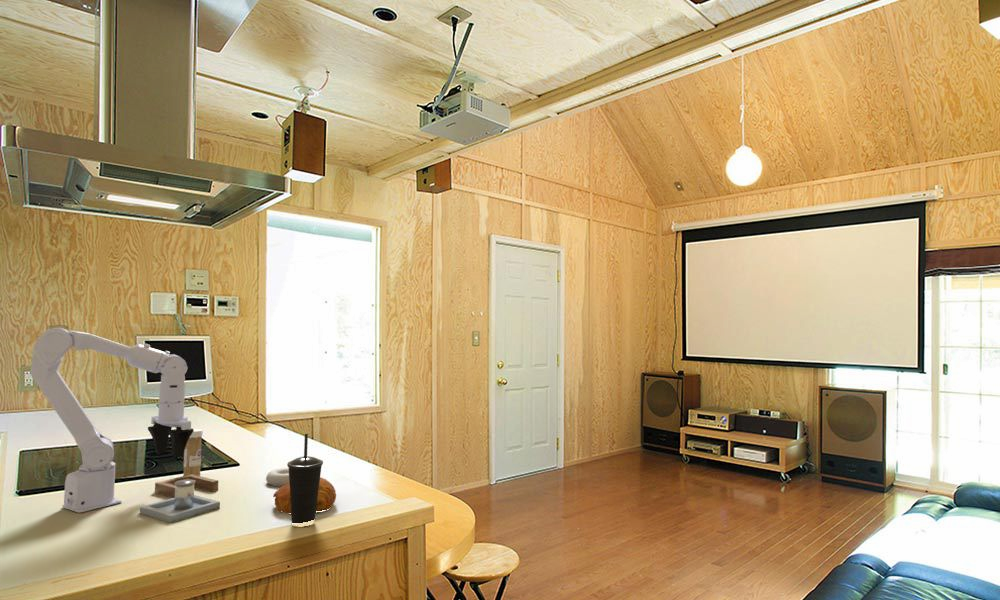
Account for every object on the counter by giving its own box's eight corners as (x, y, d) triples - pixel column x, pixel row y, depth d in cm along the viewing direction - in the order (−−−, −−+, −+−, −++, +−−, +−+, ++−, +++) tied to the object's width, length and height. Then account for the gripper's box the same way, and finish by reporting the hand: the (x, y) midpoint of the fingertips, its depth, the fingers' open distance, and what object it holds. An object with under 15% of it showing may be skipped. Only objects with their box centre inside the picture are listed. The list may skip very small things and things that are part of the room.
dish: (170, 522, 127) (171, 516, 127) (139, 513, 133) (140, 506, 133) (219, 508, 138) (220, 501, 138) (189, 499, 144) (189, 493, 144)
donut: (274, 490, 154) (309, 483, 161) (274, 477, 154) (310, 471, 161) (260, 482, 161) (294, 476, 168) (260, 470, 162) (295, 464, 168)
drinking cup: (300, 532, 123) (303, 438, 124) (277, 525, 127) (280, 434, 128) (328, 522, 130) (331, 433, 131) (305, 515, 134) (308, 429, 135)
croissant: (330, 503, 150) (331, 471, 152) (339, 513, 136) (340, 478, 138) (270, 508, 144) (272, 475, 146) (274, 519, 131) (276, 482, 132)
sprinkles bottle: (197, 479, 162) (199, 431, 163) (179, 479, 162) (181, 431, 162) (203, 474, 167) (205, 428, 167) (186, 475, 166) (188, 428, 167)
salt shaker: (180, 511, 133) (182, 485, 134) (168, 508, 135) (170, 482, 136) (198, 506, 137) (199, 481, 138) (186, 503, 139) (188, 478, 140)
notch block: (181, 499, 144) (182, 489, 144) (154, 492, 149) (155, 482, 149) (218, 490, 152) (218, 480, 152) (191, 483, 158) (191, 474, 158)
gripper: (203, 402, 148) (201, 455, 147) (171, 397, 155) (168, 448, 155) (176, 405, 142) (173, 461, 141) (144, 400, 149) (141, 453, 149)
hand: (169, 454), depth 148 cm, fingers open, 7 cm apart
